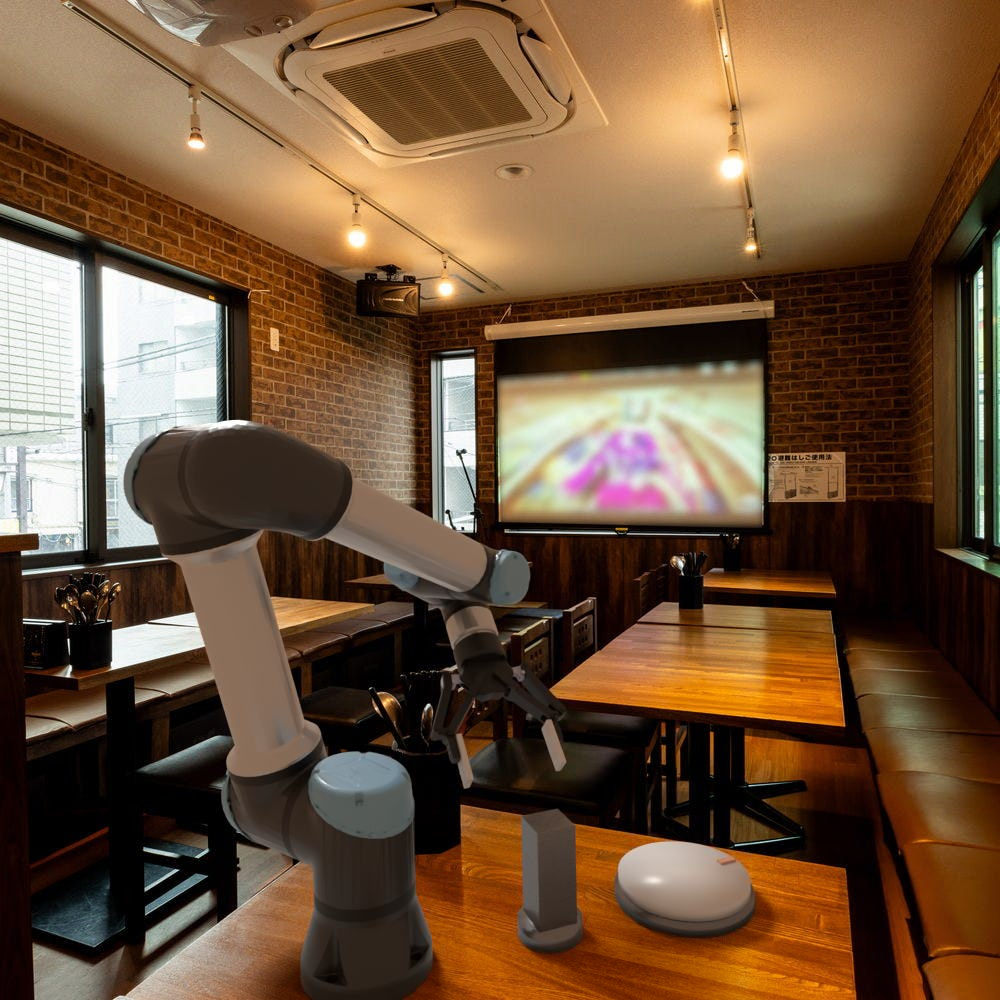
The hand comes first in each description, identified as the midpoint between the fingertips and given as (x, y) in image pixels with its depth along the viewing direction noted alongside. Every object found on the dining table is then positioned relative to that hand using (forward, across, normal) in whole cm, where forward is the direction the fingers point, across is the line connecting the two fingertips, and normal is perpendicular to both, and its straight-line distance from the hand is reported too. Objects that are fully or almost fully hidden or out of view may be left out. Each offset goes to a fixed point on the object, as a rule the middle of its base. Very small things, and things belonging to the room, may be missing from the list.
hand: (516, 775), depth 101 cm
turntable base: (+19, -19, -4) cm, 27 cm away
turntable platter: (+17, -19, -2) cm, 26 cm away
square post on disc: (+18, 0, -4) cm, 19 cm away
